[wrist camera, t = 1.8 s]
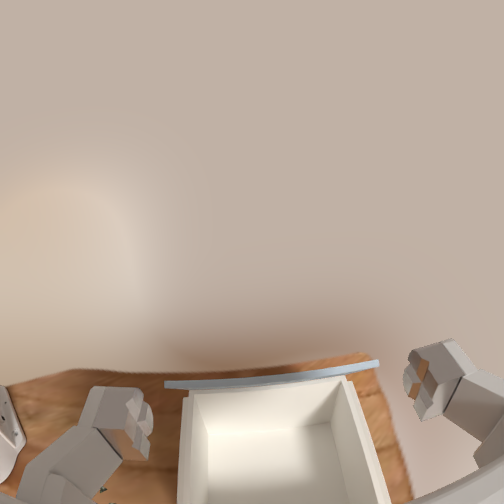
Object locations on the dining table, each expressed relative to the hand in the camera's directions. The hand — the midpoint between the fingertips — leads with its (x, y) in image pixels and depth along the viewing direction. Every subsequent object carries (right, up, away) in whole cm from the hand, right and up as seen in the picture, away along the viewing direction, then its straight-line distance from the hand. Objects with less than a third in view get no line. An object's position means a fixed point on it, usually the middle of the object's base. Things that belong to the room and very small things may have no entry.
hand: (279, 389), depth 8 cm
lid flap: (+1, -8, +20) cm, 21 cm away
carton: (+2, -26, +22) cm, 34 cm away
